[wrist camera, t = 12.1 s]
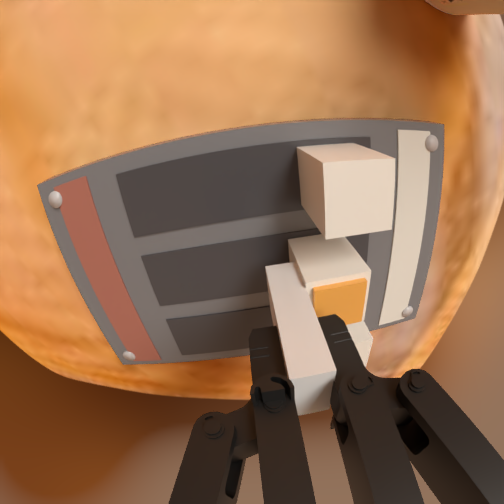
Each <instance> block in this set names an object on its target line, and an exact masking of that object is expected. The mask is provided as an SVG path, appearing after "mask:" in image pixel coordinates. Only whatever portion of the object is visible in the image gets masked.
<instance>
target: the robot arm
mask: <svg viewBox="0 0 504 504" xmlns="http://www.w3.org/2000/svg"><path fill="white" fill-rule="evenodd" d="M265 269H266V277H267V285H268V294H269V302H270V310H271V315H272V320H273V325H274V326H270V327H263V328H257V329H252V332H251V334H250V336H249V339H248V340H249V350H250V361H251V372H252V382H253V385H252V386H251V391H250V395H251V399H250V401H249V402H248V403H247V404H246V405H245V406H244V407H242V408H240V409H238V410H236V411H233V412H231V413H228V414H223V413H220V412H209V413H206V414H204V415H202V416H201V417H200V418H198V419H197V421H196V423H195V424H194V427H193V429H192V432H191V436H190V439H189V442H188V445H187V448H186V451H185V454H184V457H183V460H182V464H181V466H180V470H179V473H178V476H177V479H176V482H175V485H174V488H173V492H172V494H171V498H170V501H169V504H236V502H237V498H238V493H239V489H240V485H241V480H242V475H243V470H244V466H245V461H246V458H248V457H251V456H253V455H255V454H257V453H259V463H260V472H261V480H262V489H263V498H264V504H316V502H315V496H314V492H313V486H312V481H311V476H310V472H309V466H308V462H307V457H306V452H305V447H304V442H303V437H302V433H301V427H300V423H299V418H298V415H303V414H309V413H313V412H318V411H323V410H327V409H329V408H330V404H331V407H332V410H333V417H332V421H331V429H333V428H335V431H336V435H337V439H338V443H339V446H340V450H341V454H342V458H343V462H344V465H345V469H346V473H347V477H348V481H349V485H350V489H351V493H352V497H353V501H354V504H424V502H423V498H422V495H421V492H420V489H419V486H418V483H417V480H416V477H415V474H414V471H413V469H412V466H411V463H412V464H413V465H414V467H415V468H416V470H417V471H418V472H419V474H420V475H421V476H422V478H423V479H424V481H425V482H426V483H427V485H428V486H429V488H430V489H431V490H432V492H433V493H434V495H435V496H436V497H437V499H438V500H439V502H440V503H441V504H504V460H503V459H502V458H501V456H500V455H499V454H498V452H497V451H496V450H495V449H494V448H493V446H492V445H491V444H490V443H489V442H488V440H487V439H486V438H485V437H484V435H483V434H482V433H481V432H480V431H479V429H478V428H477V427H476V426H475V425H474V424H473V422H472V421H471V420H470V419H469V418H468V417H467V415H466V414H465V413H464V412H463V411H462V410H461V408H460V407H459V406H458V405H457V404H456V403H455V402H454V401H453V400H452V398H451V397H450V396H449V395H448V394H447V393H446V392H445V390H444V389H442V387H441V386H440V385H439V384H438V383H437V382H436V381H435V380H434V378H433V377H432V376H431V375H430V374H428V373H427V372H426V371H424V370H420V369H411V370H409V371H407V372H406V373H405V374H404V375H402V377H401V378H380V377H377V376H374V375H373V374H371V373H370V372H369V371H368V370H367V369H366V368H365V366H364V364H363V361H362V359H361V357H360V355H359V353H358V350H357V348H356V346H355V344H354V341H353V340H352V337H351V335H350V333H349V332H348V328H347V326H346V324H345V322H344V321H343V320H342V319H341V318H340V317H339V316H337V315H336V314H332V315H328V316H322V317H317V316H316V313H315V310H314V308H313V305H312V303H311V300H310V297H309V295H308V292H307V290H306V288H305V285H304V282H303V280H302V277H301V275H300V272H299V270H298V267H297V265H296V262H290V263H284V264H277V265H271V266H265ZM410 461H411V463H410Z"/></svg>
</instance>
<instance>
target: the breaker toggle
mask: <svg viewBox="0 0 504 504" xmlns="http://www.w3.org/2000/svg"><path fill="white" fill-rule="evenodd" d="M288 249H289V262H296V265H297V267H298V270H299V272H300V275H301V277H302V280H303V282H304V285H305V288H306V290H307V292H308V295H309V297H310V300H311V303H312V305H313V308H314V310H315V313H316V316H317V317H322V316H328V315H332V314H336V315H337V316H339V317H340V318H341V319H342V320H343V321H344V322H345V324H346V325H348V324H352V323H357V322H361V321H363V320H364V318H365V312H366V306H367V300H368V293H369V286H370V278H371V269H370V268H369V267H368V265H367V264H366V263H365V262H364V260H363V259H362V258H361V256H360V255H359V254H358V252H357V251H356V250H355V249H354V247H353V246H352V245H351V244H350V242H349V241H348V240H347V239H346V237H340V238H334V239H327V240H325V238H324V237H323V235H322V234H320V235H313V236H306V237H300V238H293V239H288Z"/></svg>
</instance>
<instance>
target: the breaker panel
mask: <svg viewBox="0 0 504 504" xmlns="http://www.w3.org/2000/svg"><path fill="white" fill-rule="evenodd" d="M443 162H444V124H440V123H435V122H430V121H419V120H404V119H382V118H337V119H314V120H299V121H287V122H276V123H267V124H258V125H251V126H243V127H236V128H230V129H224V130H218V131H212V132H207V133H201V134H196V135H191V136H186V137H182V138H177V139H173V140H168V141H164V142H160V143H156V144H152V145H148V146H144V147H141V148H137V149H133V150H130V151H126V152H123V153H120V154H116V155H113V156H110V157H107V158H104V159H100V160H97V161H94V162H92V163H89V164H86V165H83V166H80V167H77V168H75V169H72V170H69V171H67V172H64V173H61V174H59V175H56V176H54V177H51V178H49V179H47V180H46V181H44V182H42V183H40V184H38V185H37V186H38V189H39V193H40V196H41V199H42V202H43V205H44V208H45V211H46V214H47V217H48V220H49V222H50V225H51V228H52V230H53V233H54V236H55V238H56V241H57V243H58V246H59V248H60V250H61V253H62V255H63V257H64V260H65V262H66V264H67V266H68V268H69V271H70V273H71V275H72V277H73V279H74V281H75V283H76V285H77V287H78V289H79V291H80V293H81V295H82V297H83V299H84V301H85V303H86V304H87V306H88V308H89V310H90V312H91V314H92V315H93V317H94V319H95V321H96V322H97V324H98V326H99V327H100V329H101V331H102V332H103V334H104V336H105V337H106V339H107V341H108V342H109V344H110V345H111V347H112V349H113V350H114V352H115V353H116V355H117V356H118V358H119V359H120V361H121V362H122V364H158V363H176V362H189V361H201V360H212V359H221V358H230V357H238V356H246V355H250V350H249V340H248V339H249V336H250V334H251V332H252V329H257V328H263V327H270V326H274V325H273V320H272V315H271V310H270V302H269V294H268V285H267V277H266V269H265V266H271V265H277V264H284V263H290V262H289V249H288V239H293V238H300V237H306V236H313V235H320V234H322V235H323V237H324V238H325V240H327V239H334V238H340V237H346V239H347V240H348V241H349V242H350V244H351V245H352V246H353V247H354V249H355V250H356V251H357V252H358V254H359V255H360V256H361V258H362V259H363V260H364V262H365V263H366V264H367V265H368V267H369V268H370V269H371V278H370V286H369V293H368V300H367V306H366V312H365V318H364V320H363V321H361V322H357V323H352V324H348V325H346V326H347V328H348V332H349V333H350V335H351V337H352V340H353V341H354V344H355V346H356V348H357V350H358V353H359V355H360V357H361V359H362V361H363V364H364V366H365V368H366V365H367V361H368V357H369V354H370V350H371V346H372V342H373V337H372V335H371V333H370V331H372V330H376V329H380V328H383V327H387V326H390V325H394V324H397V323H401V322H404V321H407V320H411V319H414V318H415V317H416V314H417V310H418V307H419V304H420V300H421V297H422V293H423V289H424V285H425V281H426V277H427V273H428V269H429V265H430V260H431V255H432V250H433V245H434V240H435V234H436V228H437V222H438V215H439V207H440V199H441V189H442V178H443Z"/></svg>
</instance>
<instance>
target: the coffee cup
mask: <svg viewBox="0 0 504 504" xmlns="http://www.w3.org/2000/svg"><path fill="white" fill-rule="evenodd" d="M425 1H426V2H427V3H429V4H430V5H432V6H433V7H435V8H436V9H438V10H440V11H442V12H445V13H447V14H452V15H475V14H504V0H425Z"/></svg>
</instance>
